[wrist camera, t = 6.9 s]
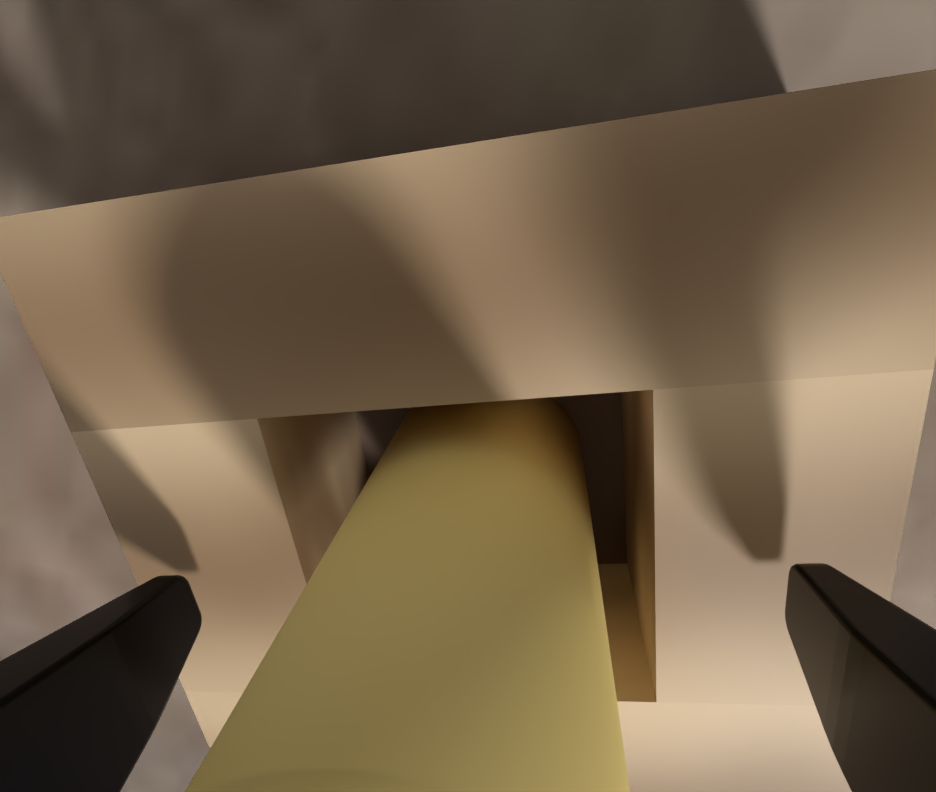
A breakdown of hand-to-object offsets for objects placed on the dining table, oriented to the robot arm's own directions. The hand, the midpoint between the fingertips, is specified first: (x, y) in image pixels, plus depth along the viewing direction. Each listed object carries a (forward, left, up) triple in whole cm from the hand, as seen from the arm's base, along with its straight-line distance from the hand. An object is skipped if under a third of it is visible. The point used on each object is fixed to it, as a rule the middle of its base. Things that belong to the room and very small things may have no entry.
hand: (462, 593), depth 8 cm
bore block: (-2, 0, -5) cm, 5 cm away
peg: (0, 0, -4) cm, 4 cm away
